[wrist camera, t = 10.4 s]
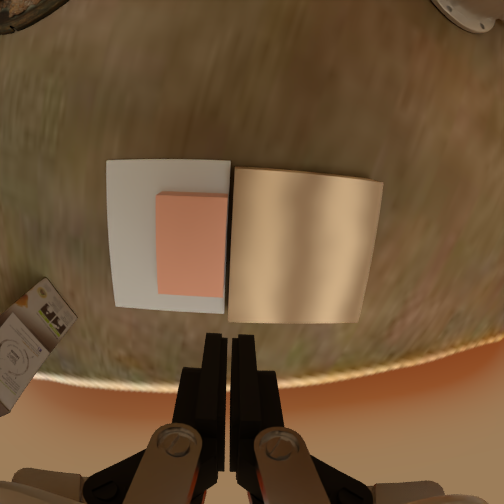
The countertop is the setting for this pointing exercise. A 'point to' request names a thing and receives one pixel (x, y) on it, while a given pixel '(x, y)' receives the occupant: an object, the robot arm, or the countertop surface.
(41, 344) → the coffee box
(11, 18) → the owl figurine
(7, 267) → the countertop surface
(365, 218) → the plate
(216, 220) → the salmon pink rectangular block
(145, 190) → the mat
